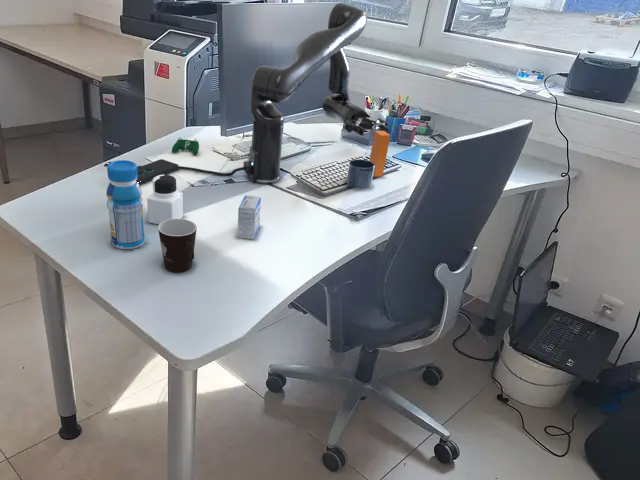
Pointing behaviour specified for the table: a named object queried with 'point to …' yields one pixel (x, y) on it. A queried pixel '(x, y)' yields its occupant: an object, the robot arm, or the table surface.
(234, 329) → the table surface
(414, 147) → the table surface
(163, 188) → the medicine bottle
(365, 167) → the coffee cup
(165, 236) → the coffee mug
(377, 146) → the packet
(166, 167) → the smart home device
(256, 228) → the medicine box
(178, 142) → the gaming controller
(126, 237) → the beverage bottle
